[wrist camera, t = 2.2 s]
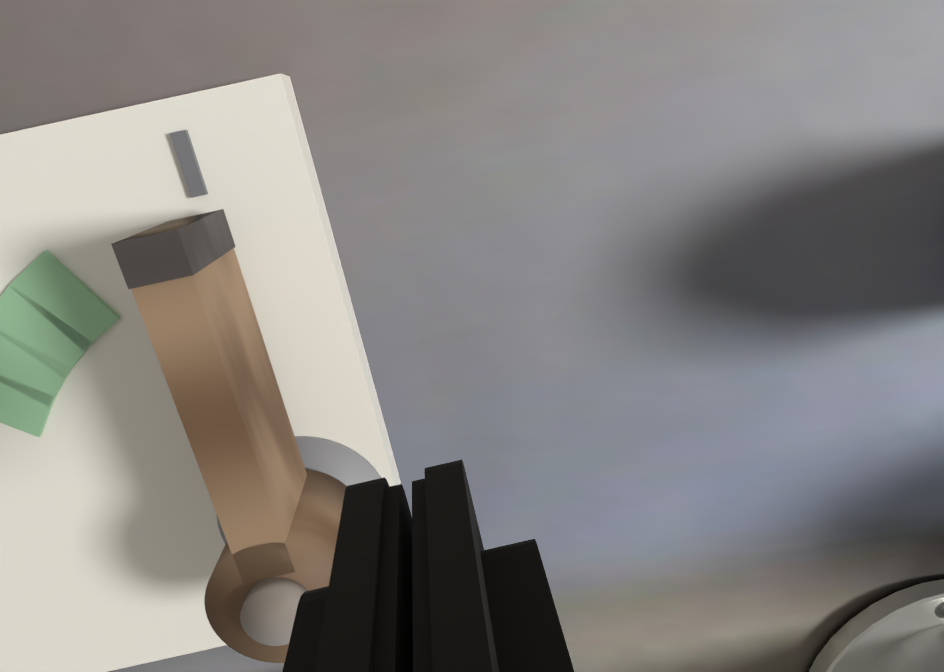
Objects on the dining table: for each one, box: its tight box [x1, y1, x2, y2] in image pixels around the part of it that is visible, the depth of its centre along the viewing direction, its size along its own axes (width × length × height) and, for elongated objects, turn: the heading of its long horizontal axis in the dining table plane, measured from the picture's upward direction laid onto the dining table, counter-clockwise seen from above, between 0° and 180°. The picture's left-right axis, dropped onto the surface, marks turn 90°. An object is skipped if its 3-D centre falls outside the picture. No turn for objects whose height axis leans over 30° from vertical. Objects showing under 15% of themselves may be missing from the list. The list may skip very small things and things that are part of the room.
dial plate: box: [0, 74, 401, 672], centre depth 24 cm, size 20×17×2 cm
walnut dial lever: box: [111, 209, 346, 663], centre depth 21 cm, size 14×4×5 cm, turn 12°
